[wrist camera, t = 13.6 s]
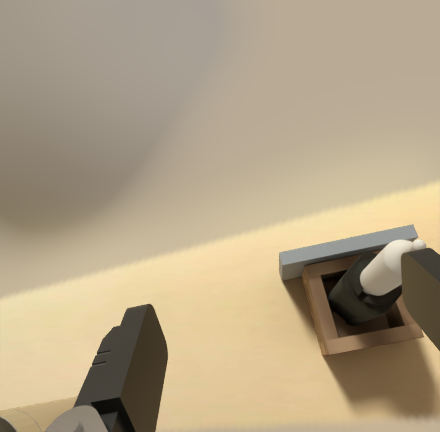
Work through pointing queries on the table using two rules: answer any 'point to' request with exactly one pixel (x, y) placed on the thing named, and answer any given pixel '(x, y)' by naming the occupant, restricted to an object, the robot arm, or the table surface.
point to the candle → (371, 283)
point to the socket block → (337, 327)
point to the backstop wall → (339, 250)
